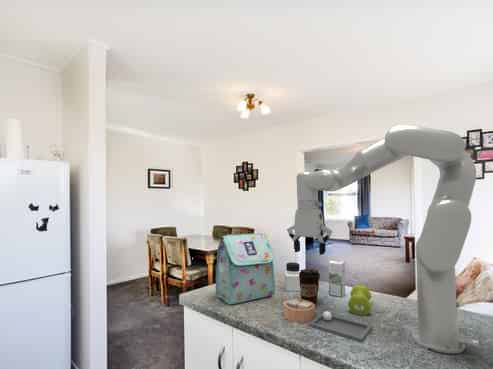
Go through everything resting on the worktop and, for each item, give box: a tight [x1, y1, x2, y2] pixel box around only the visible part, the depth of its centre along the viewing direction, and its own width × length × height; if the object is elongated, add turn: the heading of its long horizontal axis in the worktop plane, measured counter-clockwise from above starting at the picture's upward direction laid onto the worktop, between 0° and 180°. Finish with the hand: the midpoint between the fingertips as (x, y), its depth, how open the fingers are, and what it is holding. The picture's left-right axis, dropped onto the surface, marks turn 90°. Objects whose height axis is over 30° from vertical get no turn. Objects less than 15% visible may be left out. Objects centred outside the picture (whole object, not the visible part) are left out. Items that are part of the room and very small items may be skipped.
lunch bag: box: [215, 233, 276, 306], centre depth 122 cm, size 23×16×27 cm
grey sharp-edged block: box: [287, 299, 301, 309], centre depth 101 cm, size 4×4×4 cm
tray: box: [308, 312, 373, 343], centre depth 91 cm, size 16×11×2 cm, turn 52°
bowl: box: [283, 298, 316, 324], centre depth 100 cm, size 10×10×4 cm
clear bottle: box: [328, 259, 346, 298], centre depth 124 cm, size 6×6×14 cm
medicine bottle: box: [283, 261, 301, 292], centre depth 132 cm, size 7×7×12 cm
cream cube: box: [297, 302, 312, 310], centre depth 99 cm, size 4×4×4 cm
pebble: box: [322, 310, 333, 321], centre depth 96 cm, size 3×3×3 cm
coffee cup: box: [299, 268, 321, 306], centre depth 114 cm, size 9×8×13 cm
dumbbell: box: [347, 284, 372, 316], centre depth 108 cm, size 16×8×7 cm, turn 156°
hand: (309, 252), depth 103 cm, fingers open, 9 cm apart
